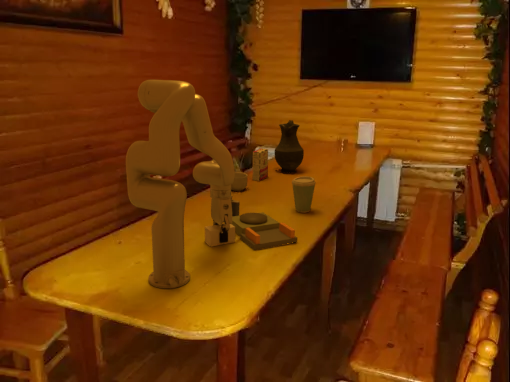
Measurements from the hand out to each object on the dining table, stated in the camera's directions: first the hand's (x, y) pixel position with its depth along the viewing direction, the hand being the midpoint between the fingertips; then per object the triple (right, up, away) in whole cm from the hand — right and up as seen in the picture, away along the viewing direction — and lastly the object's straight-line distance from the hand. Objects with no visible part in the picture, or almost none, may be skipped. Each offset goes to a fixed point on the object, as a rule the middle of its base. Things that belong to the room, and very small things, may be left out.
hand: (220, 239), depth 176 cm
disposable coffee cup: (+34, +9, +38) cm, 52 cm away
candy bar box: (+16, +25, +91) cm, 96 cm away
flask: (+2, +5, +24) cm, 25 cm away
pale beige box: (0, -1, 0) cm, 1 cm away
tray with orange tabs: (+15, +1, +8) cm, 17 cm away
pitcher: (+33, +30, +111) cm, 119 cm away
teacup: (+2, +19, +70) cm, 73 cm away
